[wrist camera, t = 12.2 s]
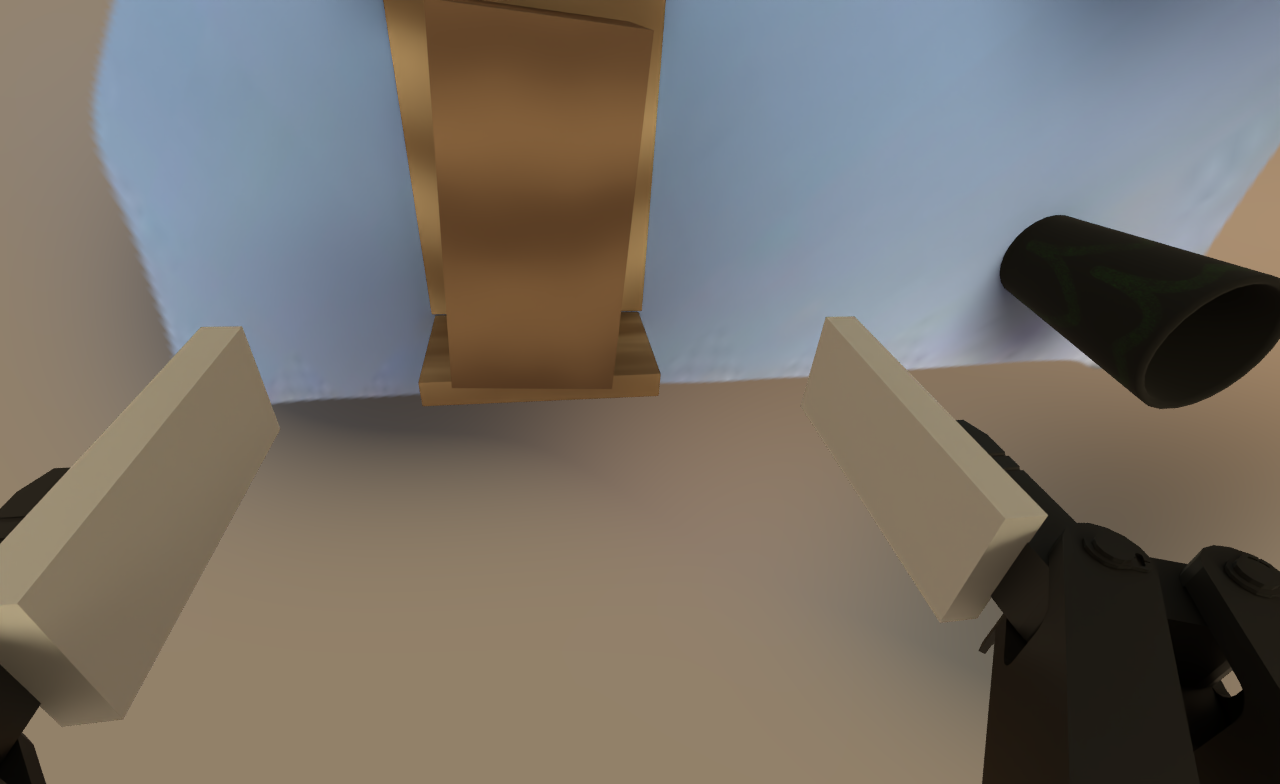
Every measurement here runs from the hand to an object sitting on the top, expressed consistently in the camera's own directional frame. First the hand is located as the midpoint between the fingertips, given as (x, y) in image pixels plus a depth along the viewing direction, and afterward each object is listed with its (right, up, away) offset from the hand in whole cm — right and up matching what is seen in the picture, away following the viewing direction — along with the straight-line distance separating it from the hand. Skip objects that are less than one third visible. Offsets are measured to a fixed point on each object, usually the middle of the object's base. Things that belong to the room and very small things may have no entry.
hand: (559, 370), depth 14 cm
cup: (+29, +9, +25) cm, 39 cm away
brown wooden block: (-3, +8, +12) cm, 15 cm away
